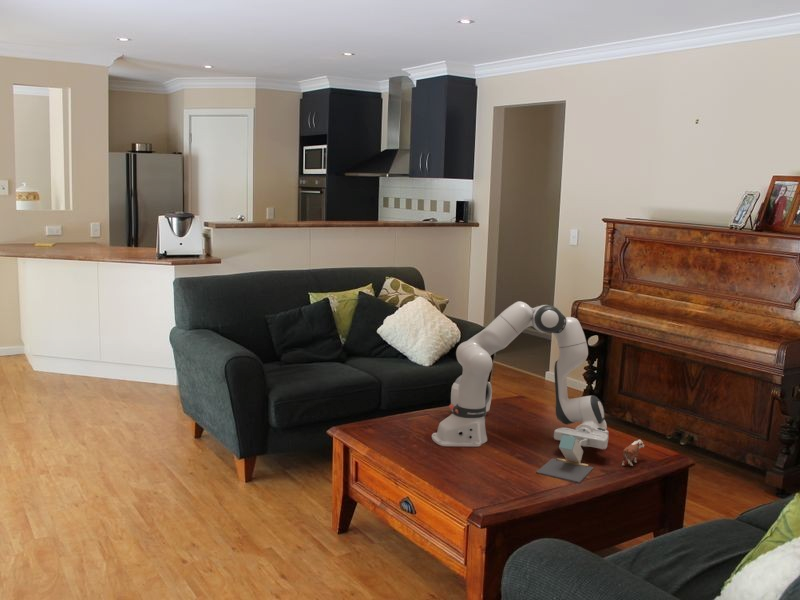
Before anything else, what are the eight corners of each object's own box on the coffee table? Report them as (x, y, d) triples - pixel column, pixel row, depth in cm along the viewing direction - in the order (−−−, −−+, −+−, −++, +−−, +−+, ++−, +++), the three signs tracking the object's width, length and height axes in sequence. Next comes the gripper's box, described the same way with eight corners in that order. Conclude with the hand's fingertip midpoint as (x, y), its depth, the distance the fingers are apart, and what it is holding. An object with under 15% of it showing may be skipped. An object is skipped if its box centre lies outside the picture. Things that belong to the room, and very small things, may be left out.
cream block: (567, 460, 292) (558, 447, 281) (570, 448, 294) (562, 434, 283) (580, 463, 289) (572, 450, 278) (583, 451, 291) (575, 437, 280)
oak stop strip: (556, 461, 291) (556, 459, 291) (557, 460, 293) (557, 457, 293) (587, 468, 285) (587, 465, 285) (588, 467, 287) (588, 464, 287)
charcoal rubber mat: (536, 473, 279) (536, 471, 279) (552, 459, 293) (552, 458, 293) (579, 483, 271) (579, 481, 271) (593, 468, 285) (593, 467, 285)
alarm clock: (458, 421, 336) (460, 376, 333) (448, 416, 343) (450, 371, 340) (492, 416, 345) (494, 372, 342) (481, 411, 352) (483, 368, 349)
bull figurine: (645, 460, 296) (646, 439, 295) (628, 468, 287) (630, 447, 285) (634, 457, 299) (636, 436, 298) (617, 465, 290) (619, 444, 288)
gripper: (561, 421, 305) (548, 429, 293) (612, 431, 295) (601, 439, 283) (559, 437, 306) (547, 445, 294) (611, 447, 295) (600, 456, 284)
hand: (574, 442), depth 288 cm, fingers closed on cream block, 2 cm apart
